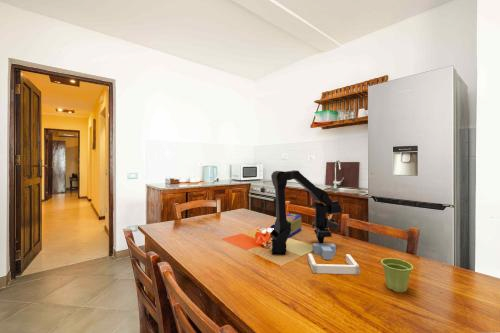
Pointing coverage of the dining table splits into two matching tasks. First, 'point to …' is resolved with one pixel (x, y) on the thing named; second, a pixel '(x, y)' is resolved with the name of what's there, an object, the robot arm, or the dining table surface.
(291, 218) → the blue and olive box
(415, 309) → the dining table surface
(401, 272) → the plant pot
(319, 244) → the t block
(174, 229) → the dining table surface
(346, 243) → the dining table surface
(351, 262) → the u-shaped frame
